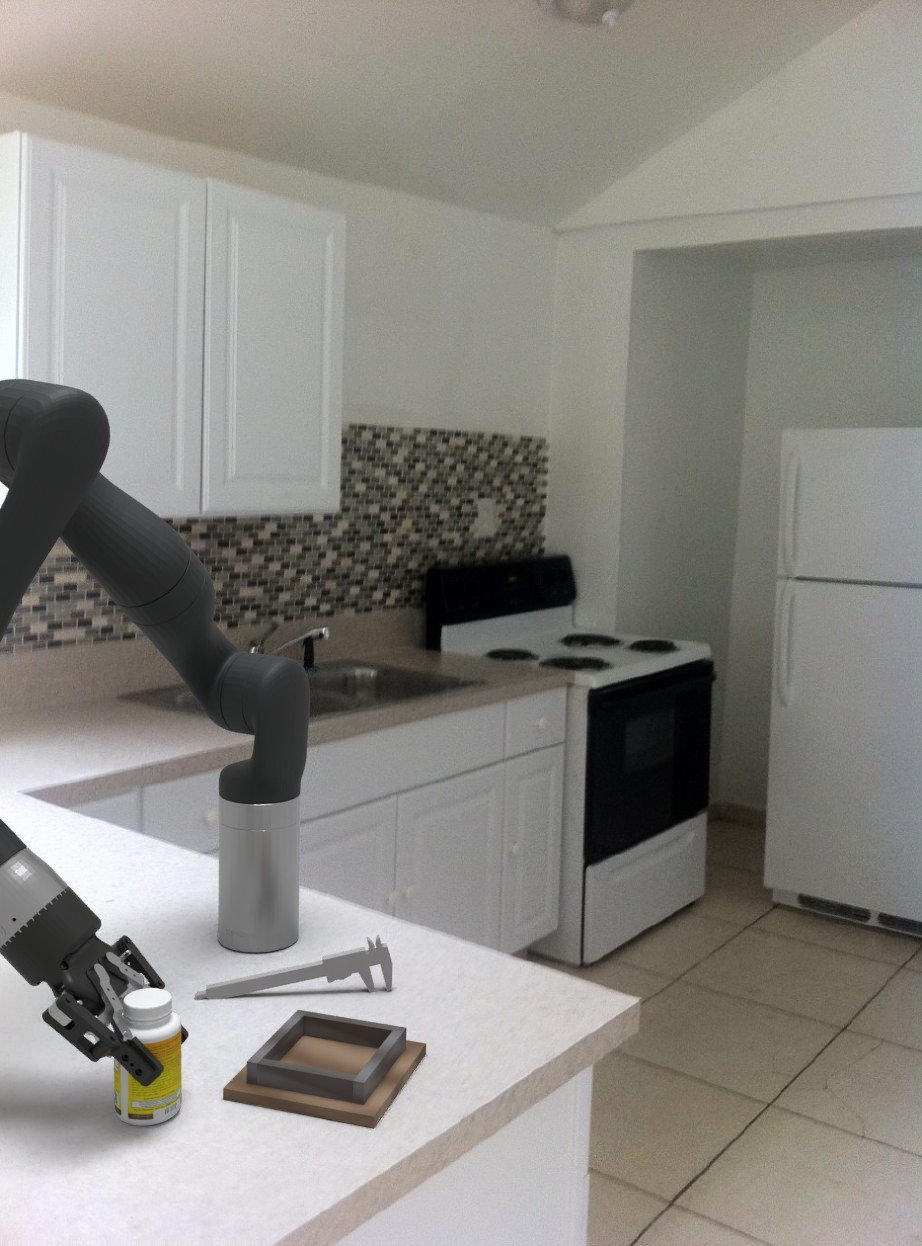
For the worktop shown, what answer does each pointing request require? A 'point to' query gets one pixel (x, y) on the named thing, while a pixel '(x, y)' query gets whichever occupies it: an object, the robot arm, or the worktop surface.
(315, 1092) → the collar base
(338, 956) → the caliper
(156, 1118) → the supplement bottle
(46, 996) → the worktop surface
